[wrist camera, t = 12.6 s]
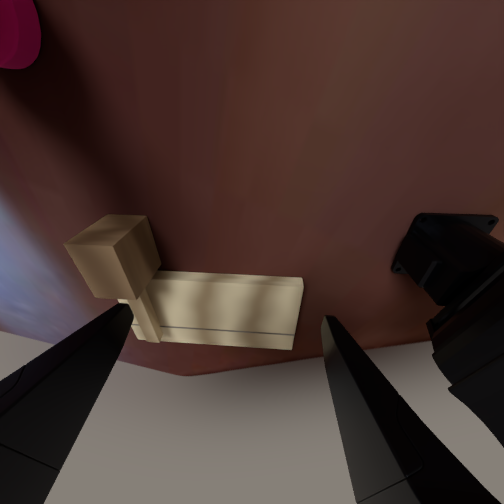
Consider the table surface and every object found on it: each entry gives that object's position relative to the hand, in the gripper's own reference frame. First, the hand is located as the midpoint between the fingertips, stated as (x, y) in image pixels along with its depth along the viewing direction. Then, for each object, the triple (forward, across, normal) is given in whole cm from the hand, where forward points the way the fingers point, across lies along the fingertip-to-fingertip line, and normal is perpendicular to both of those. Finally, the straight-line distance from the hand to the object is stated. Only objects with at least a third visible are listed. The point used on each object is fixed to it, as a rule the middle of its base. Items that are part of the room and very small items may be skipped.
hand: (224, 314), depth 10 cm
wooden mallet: (+12, +12, +9) cm, 19 cm away
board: (+12, +5, +14) cm, 19 cm away
